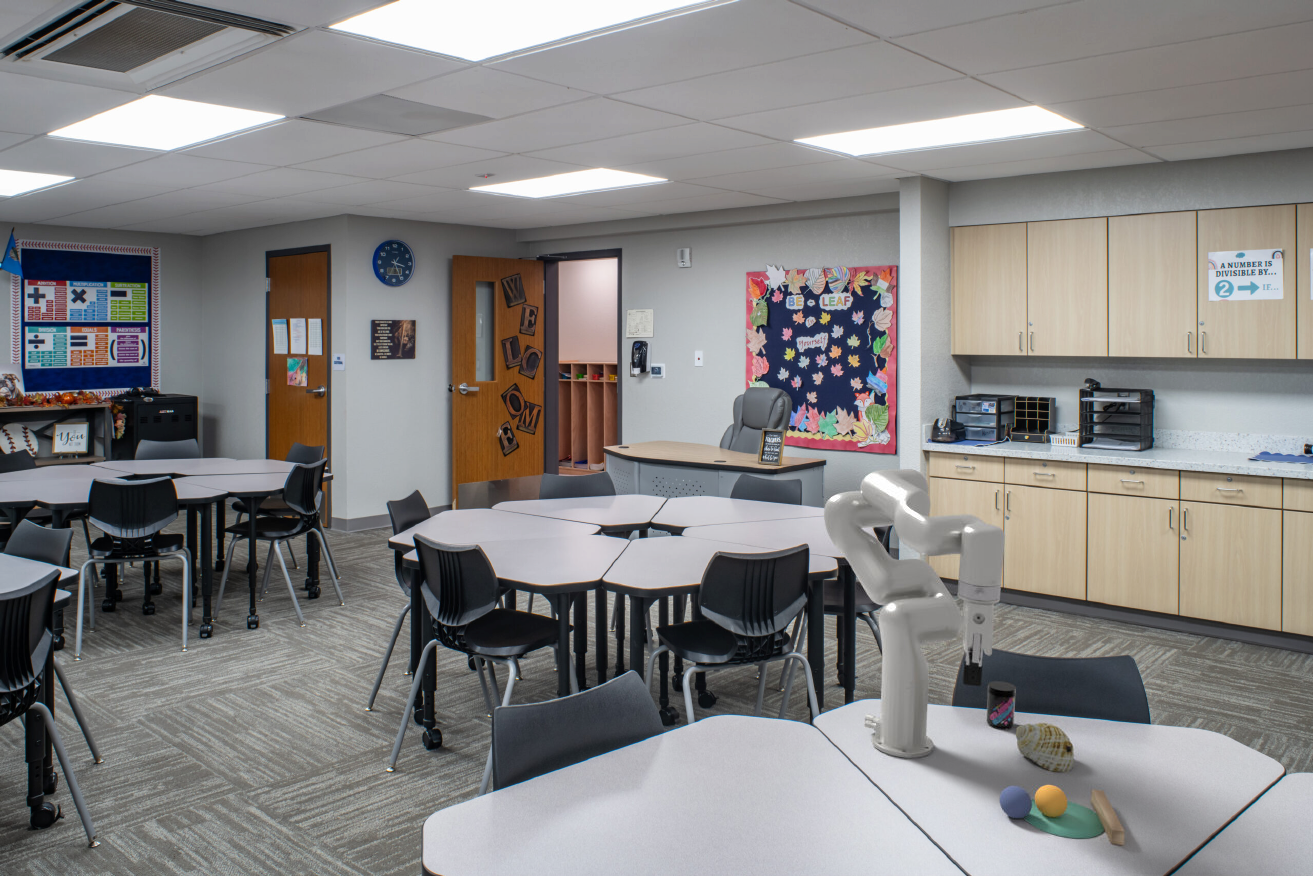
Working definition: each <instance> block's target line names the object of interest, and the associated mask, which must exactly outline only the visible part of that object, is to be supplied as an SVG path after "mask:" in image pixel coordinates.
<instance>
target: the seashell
mask: <svg viewBox="0 0 1313 876" xmlns="http://www.w3.org/2000/svg"><path fill="white" fill-rule="evenodd" d="M1015 738H1016V745H1017V749H1018V751H1019V752H1020V754H1021V755H1022V756H1023V757H1024V758H1027V759H1030V760H1031V761H1032V762H1034V763H1036V764H1037V765H1038V766H1040V767H1041V768H1043V769H1045V770H1048V771H1050V772H1054V773H1055V772H1061V773H1067V772H1070V771H1071V770H1073V768H1074V764H1075V758H1074V756H1075V754H1074V745H1073V743H1072V741H1071V740H1070V738H1069V736H1068V735H1067V734H1066V733H1065V732H1064V731H1063V730H1062V729H1061V728H1060V727H1058V726H1056V725H1053V724H1052V723H1051V724H1050V723H1048V722H1039V723H1026V724H1023V725H1022V724H1021V725H1019V726H1017V728H1016V731H1015Z"/></svg>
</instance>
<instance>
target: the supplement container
mask: <svg viewBox="0 0 1313 876" xmlns="http://www.w3.org/2000/svg"><path fill="white" fill-rule="evenodd" d="M1016 689H1017V687H1016V686H1015V685H1014V684H1012V683H1010V682H1007V681H999V680H998V681H996V680H994V681H990V682H988V683H987V703H986V704H987V705H986V722H987V724H988V726H990V727H992V728H993V729H998V730H1010V729H1011V728H1013V727H1014V725H1015V707H1016V695H1017V693H1016V691H1017V690H1016Z"/></svg>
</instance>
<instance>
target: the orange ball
mask: <svg viewBox="0 0 1313 876" xmlns="http://www.w3.org/2000/svg"><path fill="white" fill-rule="evenodd" d="M1034 799H1035V804H1036V806H1037V808H1038V810H1039V811H1040V812H1041V813H1042V814H1044V815H1046V816H1048V817H1058V816H1061V815H1062V814H1063V813H1064V812H1065V811H1066V809H1067V804H1068V803H1067V801H1068V798H1067V796H1066V794H1065V792H1064V791H1063V790H1062V788H1060V787H1058V786H1055V785H1052V784H1045V785H1042V786H1040V787H1039V788H1038V789H1037V790H1036V792H1035V794H1034Z"/></svg>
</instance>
